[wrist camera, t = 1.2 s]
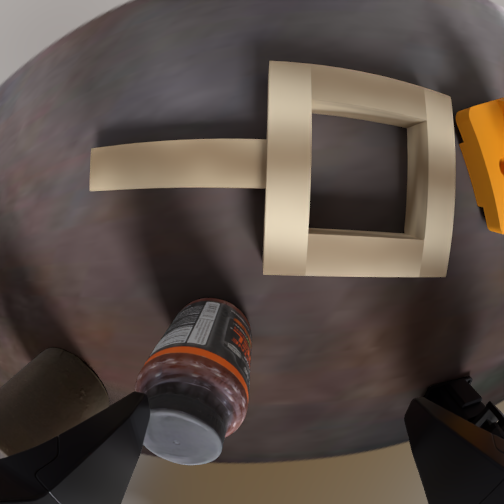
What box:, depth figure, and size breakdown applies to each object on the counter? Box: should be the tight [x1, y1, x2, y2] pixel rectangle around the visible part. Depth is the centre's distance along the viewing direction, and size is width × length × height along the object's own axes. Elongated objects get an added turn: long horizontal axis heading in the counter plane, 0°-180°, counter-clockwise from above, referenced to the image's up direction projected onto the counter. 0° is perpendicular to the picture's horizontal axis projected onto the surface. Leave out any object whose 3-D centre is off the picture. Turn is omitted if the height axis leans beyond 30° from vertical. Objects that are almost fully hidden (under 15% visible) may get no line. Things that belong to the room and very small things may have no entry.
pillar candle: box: [0, 348, 109, 459], centre depth 16 cm, size 10×10×15 cm
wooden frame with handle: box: [90, 61, 456, 277], centre depth 17 cm, size 13×25×3 cm, turn 88°
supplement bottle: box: [135, 298, 252, 465], centre depth 15 cm, size 6×6×11 cm
